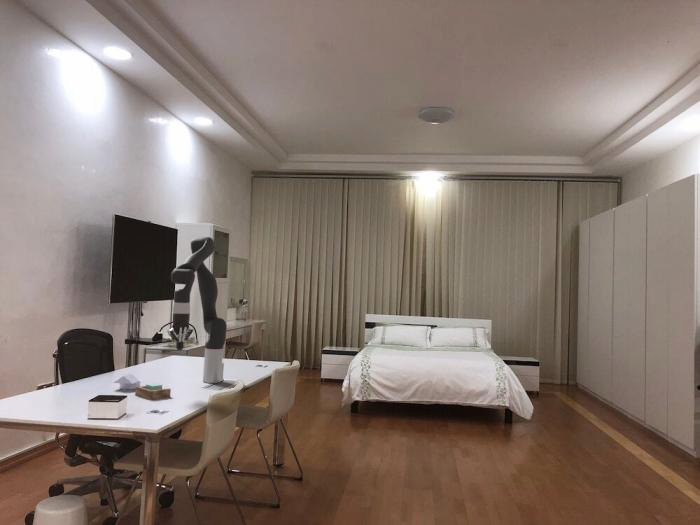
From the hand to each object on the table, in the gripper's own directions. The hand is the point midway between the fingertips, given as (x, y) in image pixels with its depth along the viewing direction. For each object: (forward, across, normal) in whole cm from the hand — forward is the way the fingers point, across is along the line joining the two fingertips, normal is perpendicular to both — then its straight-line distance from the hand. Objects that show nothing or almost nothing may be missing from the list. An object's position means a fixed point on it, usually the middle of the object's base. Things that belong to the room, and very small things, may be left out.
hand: (179, 349), depth 257 cm
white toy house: (+20, +11, -23) cm, 32 cm away
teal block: (+20, +12, -1) cm, 23 cm away
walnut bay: (+20, +12, -1) cm, 23 cm away
